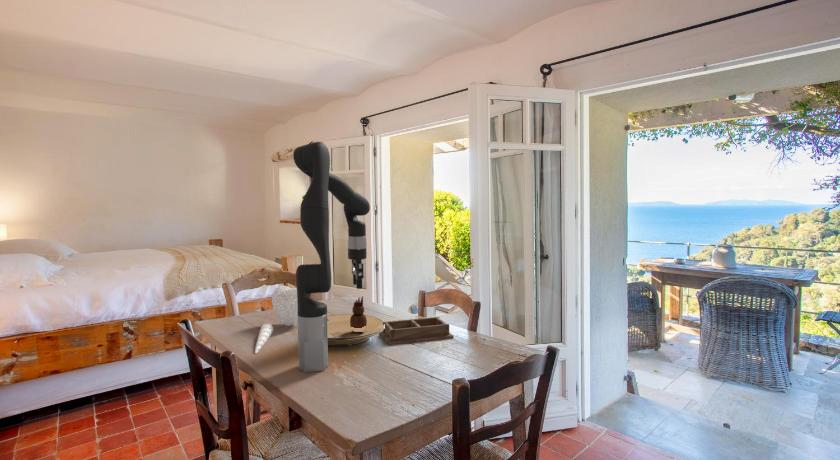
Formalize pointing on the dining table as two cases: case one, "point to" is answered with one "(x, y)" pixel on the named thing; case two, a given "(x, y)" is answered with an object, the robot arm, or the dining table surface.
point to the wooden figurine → (358, 315)
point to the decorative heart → (286, 304)
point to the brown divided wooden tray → (415, 330)
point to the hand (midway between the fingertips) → (357, 286)
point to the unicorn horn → (263, 336)
